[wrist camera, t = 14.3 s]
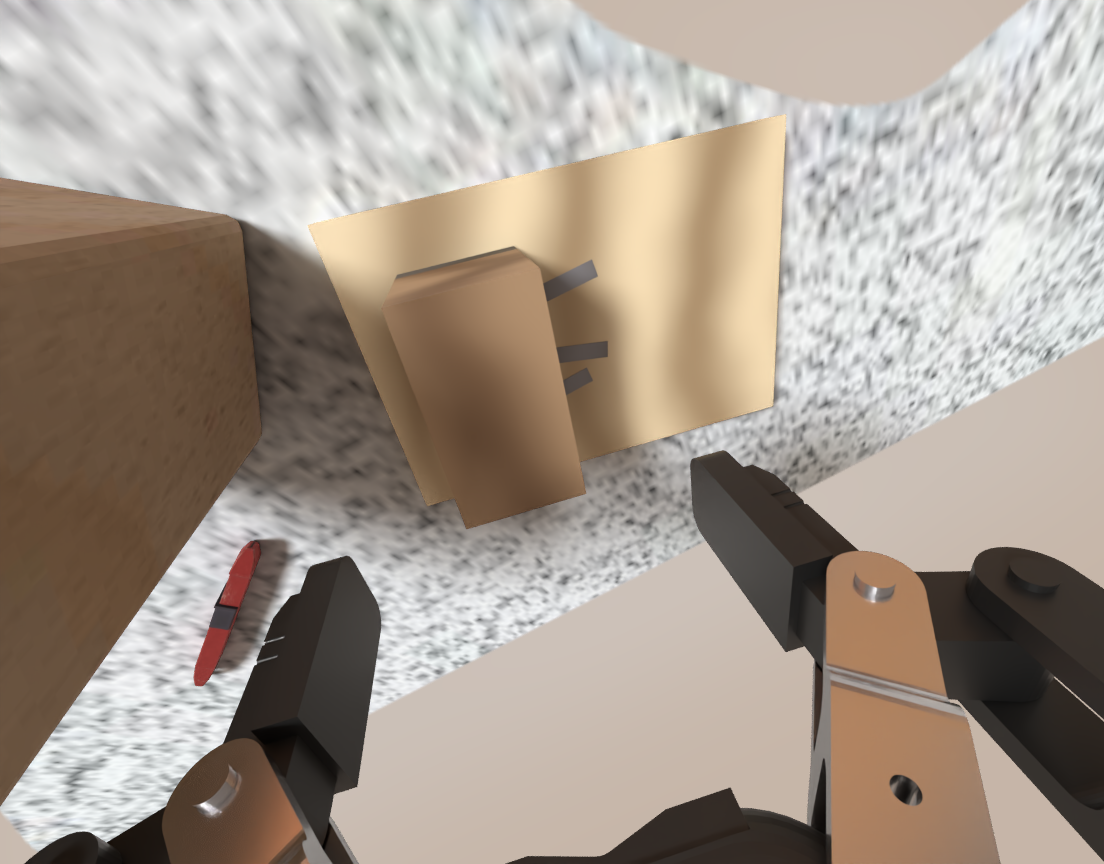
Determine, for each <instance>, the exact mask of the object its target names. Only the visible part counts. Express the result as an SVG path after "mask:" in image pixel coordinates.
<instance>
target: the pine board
mask: <svg viewBox="0 0 1104 864" xmlns="http://www.w3.org/2000/svg"><path fill="white" fill-rule="evenodd" d="M785 131H786V114H785V115H780V116H775V117H770V118H765V119H761V120H756V121H752V122H748V123H743V124H739V125H735V126H731V127H726V128H722V129H718V130H713V131H709V132H705V133H700V134H696V135H692V136H687V137H683V138H679V139H674V140H670V141H666V142H662V143H657V144H653V145H649V146H644V147H640V148H636V149H631V150H627V151H623V152H618V153H614V154H610V155H605V156H601V157H597V158H593V159H588V160H584V161H580V162H575V163H571V164H567V165H562V166H558V167H554V168H549V169H545V170H541V171H536V172H532V173H528V174H524V175H519V176H515V177H511V178H506V179H502V180H498V181H493V182H489V183H485V184H480V185H476V186H472V187H467V188H463V189H459V190H455V191H450V192H446V193H442V194H437V195H433V196H429V197H424V198H420V199H416V200H411V201H407V202H403V203H398V204H394V205H390V206H386V207H381V208H377V209H373V210H368V211H364V212H360V213H355V214H351V215H347V216H342V217H338V218H334V219H329V220H325V221H321V222H317V223H313V224H310V225H308V228H309V230H310V233H311V235H312V237H313V240H314V242H315V244H316V247H317V249H318V251H319V254H320V256H321V258H322V261H323V263H324V265H325V268H326V270H327V272H328V275H329V277H330V279H331V282H332V284H333V287H334V289H335V291H336V294H337V296H338V298H339V301H340V303H341V305H342V308H343V310H344V312H345V315H346V317H347V319H348V322H349V324H350V326H351V329H352V331H353V333H354V336H355V338H356V341H357V343H358V345H359V348H360V350H361V352H362V355H363V357H364V359H365V362H366V364H367V366H368V369H369V371H370V373H371V376H372V378H373V380H374V383H375V385H376V387H377V390H378V392H379V395H380V397H381V399H382V402H383V404H384V406H385V409H386V411H387V413H388V416H389V418H390V420H391V423H392V425H393V427H394V430H395V432H396V434H397V437H398V439H399V442H400V444H401V446H402V449H403V451H404V453H405V456H406V458H407V460H408V463H409V465H410V467H411V470H412V472H413V474H414V477H415V479H416V481H417V484H418V486H419V488H420V491H421V493H422V496H423V498H424V500H425V503H426V505H427V506H430V505H433V504H436V503H440V502H443V501H447V500H450V499H454V495H453V493H452V490H451V488H450V485H449V483H448V480H447V477H446V475H445V472H444V470H443V467H442V464H441V462H440V459H439V457H438V454H437V451H436V449H435V446H434V444H433V441H432V439H431V436H430V433H429V431H428V428H427V426H426V423H425V420H424V418H423V415H422V413H421V410H420V408H419V405H418V402H417V400H416V397H415V395H414V392H413V389H412V387H411V384H410V382H409V379H408V376H407V374H406V371H405V369H404V366H403V364H402V361H401V358H400V356H399V353H398V351H397V348H396V345H395V343H394V340H393V338H392V335H391V332H390V330H389V327H388V325H387V322H386V320H385V317H384V314H383V312H382V309H381V308H382V305H383V303H384V301H385V299H386V297H387V295H388V293H389V291H390V289H391V286H392V284H393V282H394V280H395V278H396V276H397V275H398V274H402V273H406V272H410V271H414V270H419V269H423V268H427V267H431V266H435V265H439V264H443V263H447V262H451V261H455V260H459V259H463V258H467V257H471V256H475V255H479V254H483V253H487V252H491V251H495V250H499V249H503V248H507V247H512V246H514V247H516V248H517V249H518V250H519V251H520V252H521V253H523V254H524V255H525V256H526V257H527V258H529V259H530V260H531V261H532V262H533V263H534V264H536V265H537V266H538V267H539V268H540V271H541V276H542V281H543V286H544V290H545V295H546V300H547V305H548V310H549V315H550V320H551V325H552V329H553V334H554V339H555V344H556V349H557V354H558V359H559V363H560V368H561V373H562V378H563V383H564V388H565V393H566V398H567V402H568V407H569V412H570V417H571V422H572V427H573V432H574V437H575V441H576V446H577V451H578V456H579V461H580V462H582V461H585V460H588V459H592V458H595V457H599V456H602V455H606V454H609V453H613V452H616V451H620V450H623V449H626V448H630V447H633V446H637V445H640V444H644V443H647V442H651V441H654V440H658V439H661V438H665V437H668V436H671V435H675V434H678V433H682V432H685V431H689V430H692V429H696V428H699V427H703V426H706V425H709V424H713V423H716V422H720V421H723V420H727V419H730V418H734V417H737V416H741V415H744V414H747V413H751V412H754V411H758V410H761V409H765V408H768V407H772V406H773V396H774V374H775V352H776V330H777V308H778V286H779V264H780V241H781V219H782V197H783V175H784V153H785Z"/></svg>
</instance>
